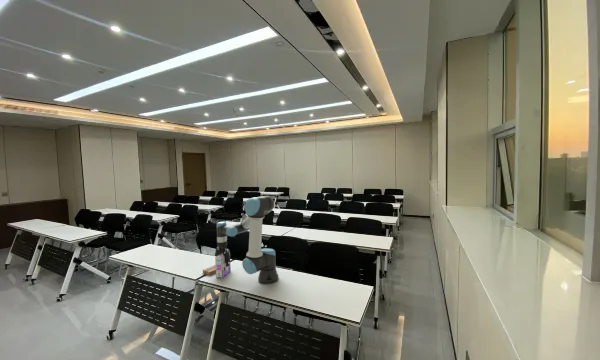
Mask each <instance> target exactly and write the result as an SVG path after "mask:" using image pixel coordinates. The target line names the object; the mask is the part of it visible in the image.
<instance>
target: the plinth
mask: <svg viewBox="0 0 600 360" xmlns="http://www.w3.org/2000/svg"><path fill="white" fill-rule="evenodd" d="M203 273H204V274H203ZM202 274H203V275H206V276H208V277H211V276H213V275H216V264H214V265H212V266H210V267H206V268H204V269H202Z"/></svg>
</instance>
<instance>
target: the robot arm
mask: <svg viewBox="0 0 600 360" xmlns="http://www.w3.org/2000/svg"><path fill="white" fill-rule="evenodd" d="M274 207H275V200H274V198H272V197H271V196H268V195H262V196H257V197H255V196H254V197H251V198H249V199H247V200H246V202H245V204H244V212H245V213H246V215H247V217H245V218H244V219H243V220H242V221H241V222H240V223H236V224H231V225H228V224H227V222H226V221H219V222H216V243H217V246H216V247H215V257H217V256H218V255H220V254H223V255H224V256H225V271H227V270H228V266H229V264H228V262H230V263H231V253H230V254H229V252H230V249H229V248H227V246H228V241H227V240H228V237H236V235H239V234H241V233H245V232H248V231H249V232H248V233H249V234H248V236H249V237H248V251H247V252H246V253H245V254H246V255H245V258H244V259H243V260H242V261H241V262H242V264H241V265H242V269H243V270H244V272H245V273H247V274H248V275H253V274H257V272H259V273H258V277H257V279H258V282H259V283H260V284H266V285H269V284H273V283H276V282H278V281H279V273H278V271H277V268H276V266H277V265H276V263H277V261H276V250H275V249H273V248H262V237H263V235H262V234H263V219H264V218H266V217H265V215H268V214H269V213H270V212H273V210H274Z"/></svg>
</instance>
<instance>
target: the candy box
mask: <svg viewBox="0 0 600 360" xmlns="http://www.w3.org/2000/svg"><path fill="white" fill-rule="evenodd" d="M229 254H230V255H231V252H230V251H229ZM228 264H229V266H228V270H227V271H225V256H224V255H223V254H220V255H218V256H217V257H216V256H215V265H216V273H215V278H218V279H223V278H224V277H226V276H227V275H228V274H230V272H231V270H232V269H231V261H230V262H228Z"/></svg>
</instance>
